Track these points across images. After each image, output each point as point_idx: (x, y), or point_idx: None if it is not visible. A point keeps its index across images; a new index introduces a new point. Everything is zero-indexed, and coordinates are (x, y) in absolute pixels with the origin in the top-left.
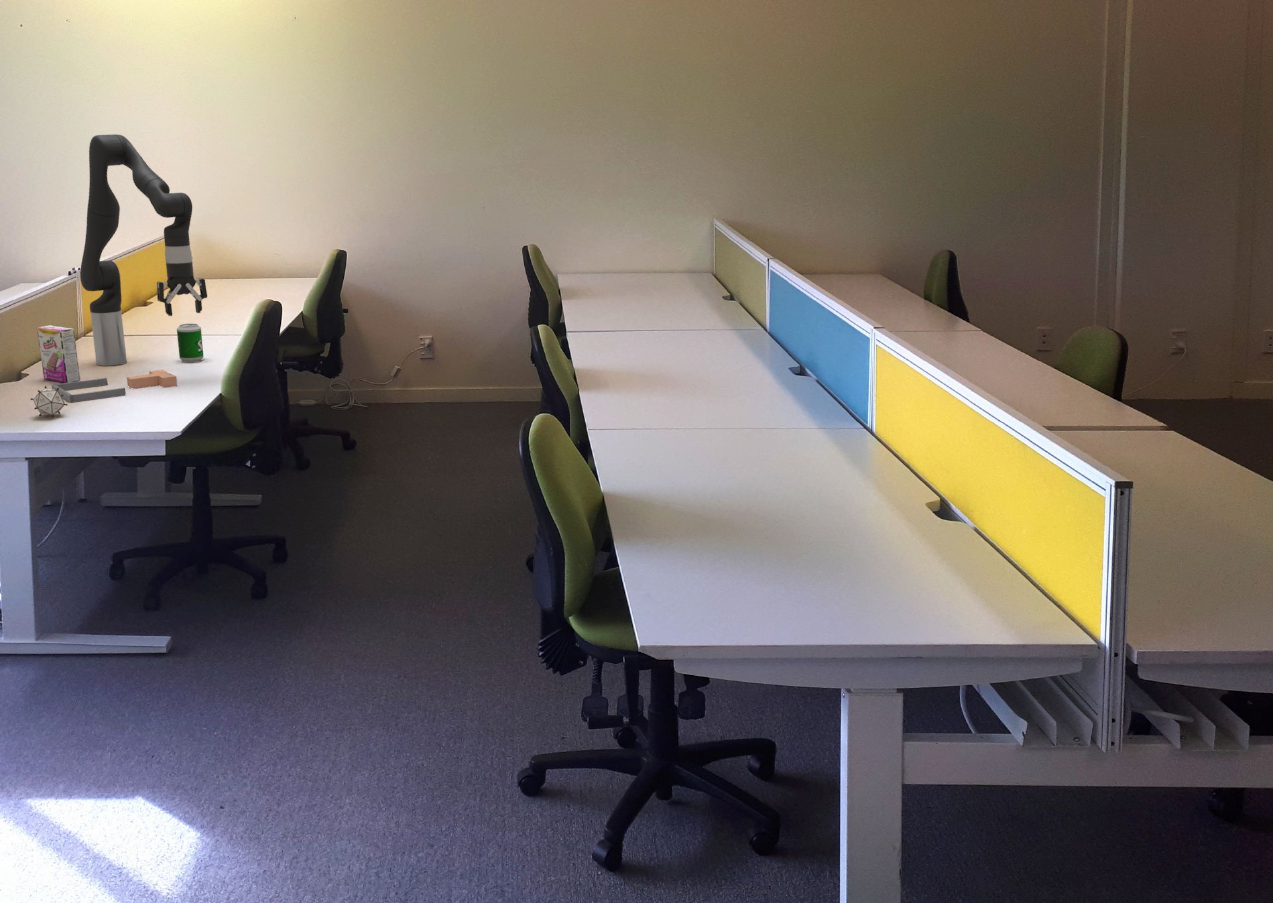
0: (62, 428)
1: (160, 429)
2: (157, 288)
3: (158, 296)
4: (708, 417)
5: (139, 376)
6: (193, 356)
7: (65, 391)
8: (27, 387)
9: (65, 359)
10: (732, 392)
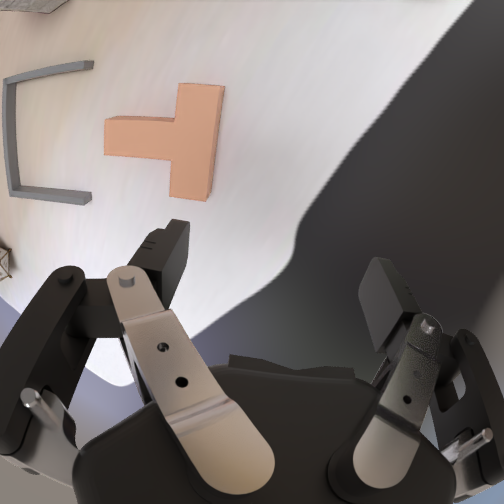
0: (23, 310)
1: (109, 380)
2: (2, 369)
3: (45, 307)
4: None
5: (129, 135)
6: None
7: (7, 156)
8: (5, 21)
9: (13, 9)
10: None
